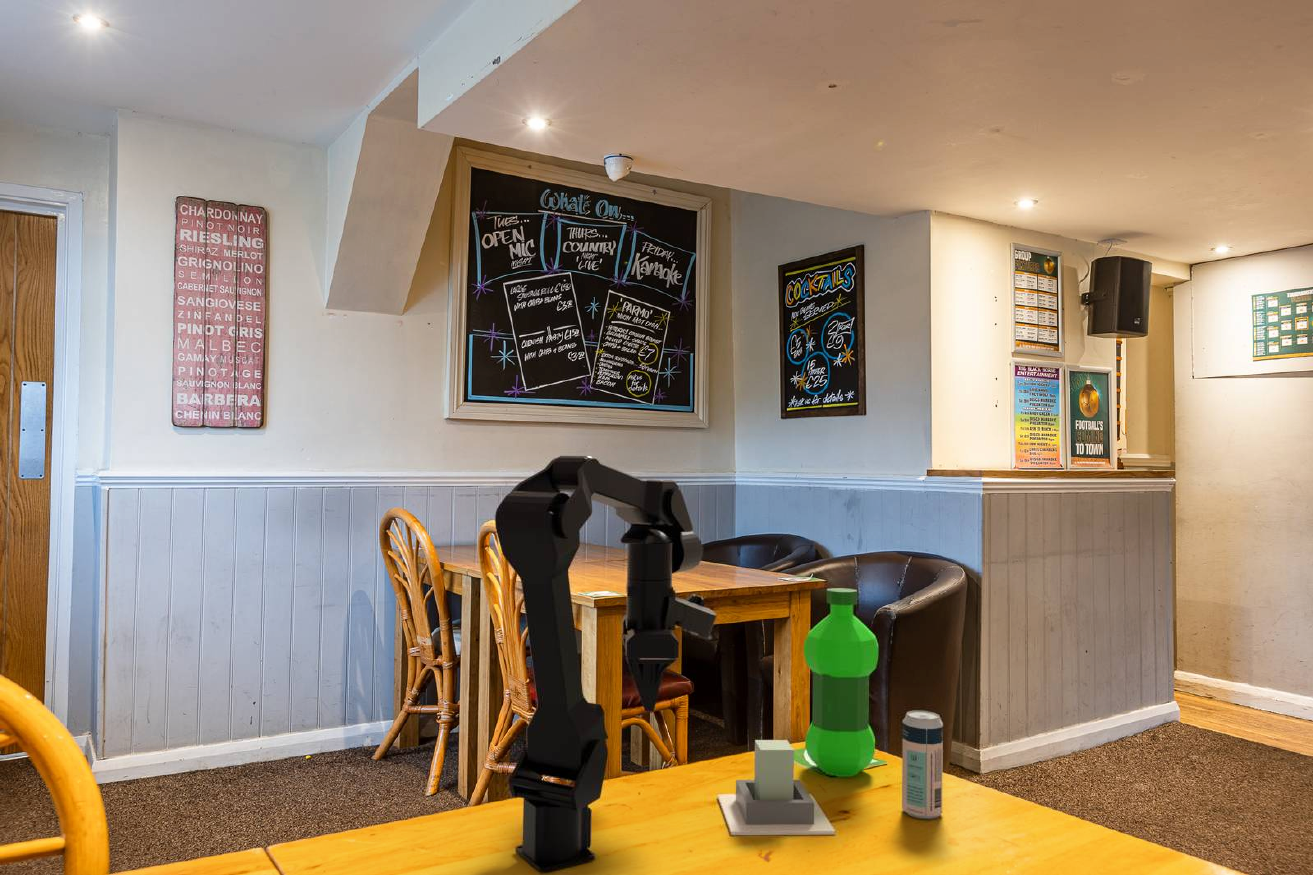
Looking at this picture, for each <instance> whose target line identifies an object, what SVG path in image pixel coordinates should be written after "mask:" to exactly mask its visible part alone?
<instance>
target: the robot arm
mask: <svg viewBox="0 0 1313 875" xmlns="http://www.w3.org/2000/svg"><path fill="white" fill-rule="evenodd" d="M679 487H680V486H679V485H678V483H677V482H676V481H674V480H672V479H647V478H645V479H644V478H639V477H636V476H634V475H632V474H629V473H626V472H624V471H622V470H620V469H617V468H614V467H612V466H609V465H607V464H605V463H602V462H600V461H599V460H598V459H597V458H594V457H592V456H590V455H560V456H558V457H555V458H553V459H552V460H551V461H550V462H548V464H547V465H546V466H545V467H544V469H542V470H540V471H538V472H536V473H534V474H533V475H531V476H529V477H528V478H526V479H524V480H522V481H521V482H519V483H518V484H516V486H515V487H513V489H512V490H511V491H510V492H509V493H508V494H506V495H505V496H504V498H503V499H502V501H501V502H500V503H499V505H498V506H497V508H496V510H495V515H494V525H495V531H496V535H497V538H498V543H499V544H500V545H499V546H500V549H501V550H500V551H501V554H502V556H503V557H504V559H506V562H508V564H509V566H511V568H512V569H513V570H514V572H515V573H516V575H517V576H518V577H519V579H520V583H521V589H522V596H523V597H522V598H523V605H524V612H525V613H524V614H525V620H526V628H527V634H528V642H529V643H528V644H529V649H530V650H529V651H530V657H531V658H530V659H531V665H532V674H533V681H534V688H535V695H536V702H537V703H536V704H537V705H536V706H537V707H536V708H535V710H534V712H533V714H532V716H531V718H530V719H529V720H530V721H529V723H528V725H527V727H526V733H525V734H526V744H525V746H524V748H523V750H522V752H521V754H520V756H519V759H518V760H517V762H516V764H515V767H514V769H513V770H512V773H511V774H510V776H509V779H508V785H509V791H510V794H511V797H512V798H521V799H523V804H522V806H523V807H522V808H523V809H522V844H519V845H517V846H515V853H516V854H518V855H519V856H520V857H521V858H523V859H524V860H525V861H526V863H528V864H530V865H531V866H532V867H533V868H535V869H536V870H537V871H538V872H540V873H547V872H550V871H554V870H558V869H562V868H566V867H570V866H574V865H578V864H582V863H586V862H590V861H594V860H595V859H596V854H595V853H594V852H593V851H592V850H590V847H591V846H592V817H593V816H592V815H593V814H592V809H591V808H590V807H589V805H591V804H593V803H594V802H596V801H599V799H600V798H601V796H602V795H601V794H602V790H603V785H604V779H605V773H606V768H607V764H608V756H609V749H608V745H607V740H608V739H609V735H608V733H607V729H606V726H605V725H606V724H605V723H606V722H605V710H604V708H603V706H602V704H600V703H596V702H595V703H594V702H588V700H587V699H586V698H585V696H584V691H583V683H582V675H581V674H582V673H581V668H580V665H581V664H580V658H579V650H578V641H577V633H576V626H575V620H574V616H575V615H574V610H573V601H572V594H571V585H570V584H571V583H570V578H569V569H570V567H571V565H572V562H573V560H575V559H574V558H575V556H576V554H577V553H578V550H579V548H580V546H581V545H580V544H581V541H580V540H581V538H580V537H581V536H580V531H581V529H582V528H583V527H584V525H585V524H586V522H587V521H588V520H589V518H591V516H592V515H593V504H592V503H593V502H592V501H594V502H597V503H600V504H603V505H607V506H609V507H612V508H614V509H615V515H616V516H618V518H620V519H621V520H623V521H624V522H625V523H628V524H629V525H630V526H629V528H628V530H627V531H626V532H625V533H624V534H622V536H621V538H620V543H621V544H623V545H624V544H627V565H626V566H627V569H626V570H627V572H626V573H627V574H626V577H627V578H626V585H625V586H626V587H625V588H626V590H625V592H626V613H625V614H624V615H623V616H622V621H621V622H622V631H621V632H622V635H623V636H622V639H623V643H624V645H625V657H626V661H627V664H628V667H629V671H630V673H631V676H632V678H633V681H634V684H635V686H636V690H637V692H638V695H639V698H640V701H641V703H642V706H643V710H644V711H645V712H654V711H655V708H656V704H657V699H658V694H659V691H660V686H661V682H662V678H663V676H664V675H663V674H664V671H665V670H666V669H668V668H669V667H670V666H671V665H672V664H674V663H675V662H676V661H677V659H678V658H679V657H680V656H679V654H680V652H679V650H680V649H679V647H680V646H679V644H680V643H679V642H680V641H679V639H678V636H676V635H675V634H674V632H672V631H676V627H679V628H682V629H684V630H686V631H690V632H692V633H695V634H697V635H698V636H699V637H701V638H704V639H709V638H710V636H711V632H712V630H713V626H714V624H715V622H716V619H717V614H716V613H715V611H714V610H712V609H710V608H709V607H705V600H704V597H702V596H699V595H697V594H694V593H691V594H690V595H689V596H688V597H687V598H686V599H685V598H682V597H681V598H680V597H677V596H676V590H675V589H674V587H673V574H676V573H677V574H678V573H682V572H686V571H691V570H693V569H695V568H697V566H698V565H699V564H700V563H701V561H702V558H703V556H704V546H703V543H702V540H701V539H700V537H699V536H698V535H697V534H696V533H695V532H693V524H692V521H691V518H690V514H689V512H688V508H687V505H686V502H685V499H684V496H683V493H682V491H681V489H679ZM565 492H566V493H565ZM567 492H568V493H570V494H571V495H570V496H569V494H567ZM628 632H629V633H628ZM543 777H547V778H548V777H549V778H554V779H559V780H563V781H568V782H574V783H573V785H568V784H563V783H560V782H554V781H549V780H544V779H542V778H543Z"/></svg>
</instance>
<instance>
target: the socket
mask: <svg viewBox="0 0 1313 875" xmlns="http://www.w3.org/2000/svg"><path fill="white" fill-rule="evenodd" d="M717 799H718V803H719V804H720V808H721V811H722V813H723V816H724V819H725V821H726V825H727V828H728V830H729V833H730V835H731V836H782V835H783V836H784V835H785V836H791V835H792V836H795V835H796V836H797V835H798V836H799V835H800V836H801V835H802V836H803V835H805V836H806V835H807V836H808V835H809V836H810V835H811V836H812V835H815V836H816V835H819V836H820V835H822V836H823V835H825V836H826V835H831V836H833V835H836V830H835V828H834V827H833V825H832V824H831V822H830V821H829V819H828V818H827V816H826V815H825V813H824V812H823V809H822V808H821V807H820V805H819V804H818V802H817V800H816V798H815V797H814V796H813V795H812V794H811V793H808V790H807V789H806V788H805V786H804V784H803V783H802V781H801V780H800V779H794V787H793V800H754V779H736V780H735V794H733V793H732V794H730V793H728V794H724V793H723V794H717Z"/></svg>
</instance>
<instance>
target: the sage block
mask: <svg viewBox="0 0 1313 875" xmlns="http://www.w3.org/2000/svg"><path fill="white" fill-rule="evenodd" d="M794 762H795V749H794V748H793V747H792V745H791V744H790V742H789V741H788V739H754V779H753V780H754V800H793V787H794V780H795V778H794V775H795V774H794V770H795V767H794V766H795V763H794Z"/></svg>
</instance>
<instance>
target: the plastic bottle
mask: <svg viewBox="0 0 1313 875" xmlns="http://www.w3.org/2000/svg"><path fill="white" fill-rule="evenodd" d="M826 603H827V604H830V605H829V606H830V607H829V608H830V610H829V611H830V612H829V614H828V615H827V616H826V617H824V618H823V619H822V620H821V621H820V622H818V623H817V624H816V625H815V626H813V628H812V629H810V630H809V632H808V633H807V637H806V639H805V641H804V644H803V655H804V656H803V657H804V660H805V664H806V666H807V667H809V669H810V670H811V671H812V712H811V713H812V717H811V718H812V721H811V723H810V725H809V727H808V730H807V733H806V736H805V739H804V740H805V751H806V754H807V756H808V757H809V758H810V760H811V762H813V763H814V764H815V765H816V766H817V767H818V768H819V769H820V771H821V770H822V771H821V772H823V773H824V772H825V775H828V774H829V776H834V775H835V776H834V777H841V778H842V777H844V778H845V777H854V776H857V775H859V772H861V771H863V770H864V769H865V768H866V767H868V766H869V765H870V764H871V762H872V760H873V759H874V756H875V753H876V737H875V735H874V732H873V728H871V726H870V724H869V716H870V715H869V711H870V709H869V708H870V706H869V705H870V704H869V702H870V701H869V700H870V699H869V696H870V693H869V691H870V690H869V689H870V688H869V687H870V675H871V674H872V673H873V672H874V671H875V670H876V669H877V666H878V665H877V664H878V661H879V660H878V659H879V643H878V640H877V637H876V635H875V634H874V633H873V632H872V631H871V630H870V629H869V628H868V627H867V625H865V623H863V622H862V621H861V620H860V619H859V618H857V616H855V615H854V605H855V606H856V605H857V604H858V590H857V589H853V588H844V587H837V588H836V587H833V588H827V589H826ZM830 774H831V775H830Z"/></svg>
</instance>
